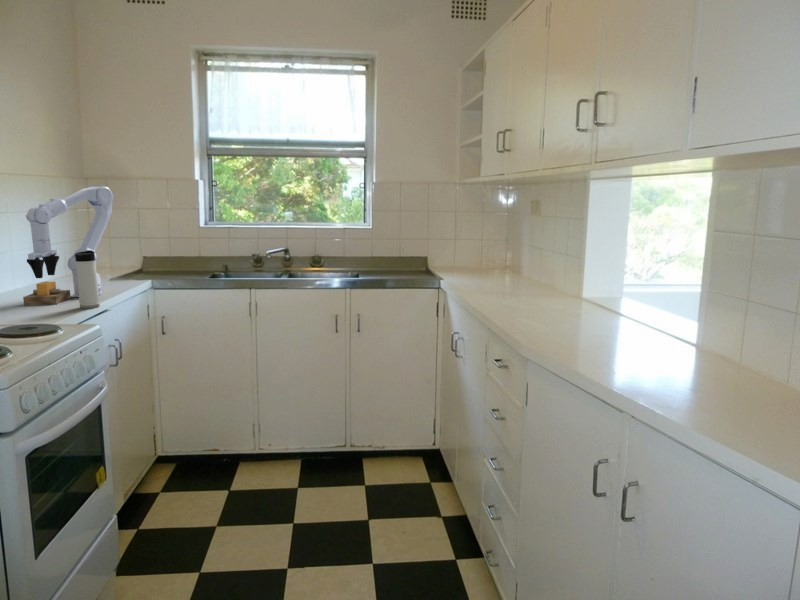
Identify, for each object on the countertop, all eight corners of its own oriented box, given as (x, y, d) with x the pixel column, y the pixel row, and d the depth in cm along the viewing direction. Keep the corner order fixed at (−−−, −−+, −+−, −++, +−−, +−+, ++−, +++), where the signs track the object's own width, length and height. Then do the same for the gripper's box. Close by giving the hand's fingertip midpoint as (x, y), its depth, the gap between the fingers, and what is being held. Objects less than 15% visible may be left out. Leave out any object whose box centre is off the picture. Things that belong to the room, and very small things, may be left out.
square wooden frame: (70, 297, 237) (69, 285, 236) (56, 304, 223) (55, 291, 222) (39, 298, 235) (38, 286, 234) (24, 305, 221) (22, 292, 221)
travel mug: (103, 305, 221) (98, 250, 217) (93, 308, 214) (87, 252, 211) (87, 305, 221) (82, 250, 218) (76, 308, 215) (70, 252, 211)
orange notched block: (57, 298, 232) (55, 281, 230) (48, 301, 226) (46, 283, 225) (46, 298, 232) (44, 281, 231) (38, 301, 226) (36, 283, 225)
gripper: (40, 241, 218) (44, 279, 220) (63, 238, 232) (66, 273, 234) (20, 241, 218) (25, 279, 220) (44, 238, 232) (48, 273, 235)
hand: (45, 276), depth 227 cm, fingers open, 7 cm apart
